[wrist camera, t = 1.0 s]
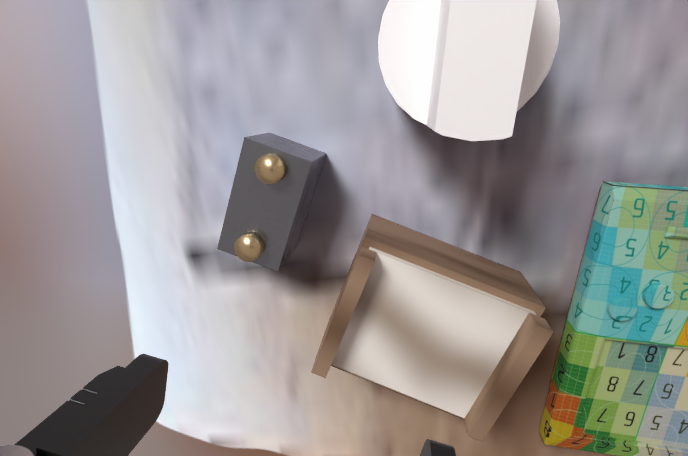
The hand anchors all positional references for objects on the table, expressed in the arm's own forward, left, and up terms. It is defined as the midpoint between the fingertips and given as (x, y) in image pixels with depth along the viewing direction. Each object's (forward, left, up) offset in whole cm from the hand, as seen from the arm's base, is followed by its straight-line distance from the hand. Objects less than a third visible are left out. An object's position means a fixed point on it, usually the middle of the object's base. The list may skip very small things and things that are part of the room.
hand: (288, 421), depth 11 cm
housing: (0, -7, -20) cm, 21 cm away
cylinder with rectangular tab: (-13, +1, -20) cm, 24 cm away
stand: (+4, +6, -19) cm, 21 cm away
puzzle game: (-2, +22, -20) cm, 30 cm away
